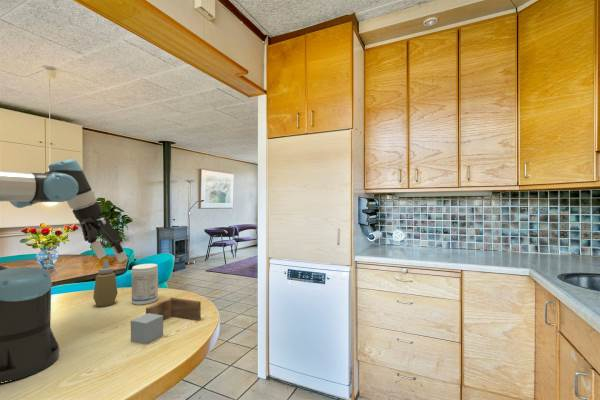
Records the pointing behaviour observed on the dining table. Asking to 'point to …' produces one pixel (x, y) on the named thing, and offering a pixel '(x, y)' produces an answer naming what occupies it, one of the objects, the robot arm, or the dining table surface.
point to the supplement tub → (144, 283)
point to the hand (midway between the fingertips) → (112, 258)
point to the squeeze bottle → (105, 286)
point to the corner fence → (177, 309)
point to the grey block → (146, 328)
